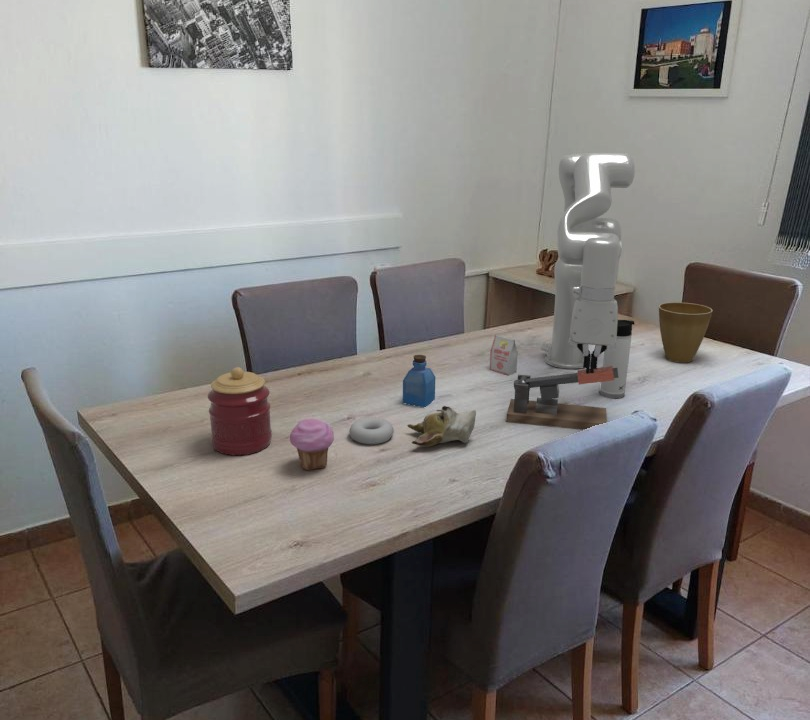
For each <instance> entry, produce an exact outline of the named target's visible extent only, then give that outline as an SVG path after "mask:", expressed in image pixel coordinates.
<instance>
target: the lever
mask: <svg viewBox="0 0 810 720" xmlns="http://www.w3.org/2000/svg"><path fill="white" fill-rule="evenodd" d="M614 378H619V377H618V369H617V368H613V366H609V367H603V366H602V367H597V369H594V370H593V373H591V372H590V369H589V372H588V373H586V368H584V369H578V370H577V372H571V373H563V374H556V375H546V376H539V377H532V378H529V379H528V378H527V377H525V376H522V377H520V378H519V380H518V379H514V381H513V388H514V390H515V384H516V383H517V384H527V385H528V388H530V389H534V388H539V391H540V393H539V394H540V398H541V399H542V400H545V399H558V398H560V388H559V386H560V385H567V384H568V385H569V384H576V383H578V385H586V384H596V383H601V382H605V381H613V380H614Z"/></svg>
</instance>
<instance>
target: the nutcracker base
mask: <svg viewBox="0 0 810 720" xmlns="http://www.w3.org/2000/svg"><path fill="white" fill-rule="evenodd" d="M522 376H525V377H527V378H528V379H529V378H531V375H527V374H518V375H517V380H519V378H520V377H522ZM530 392H531V388H528V385H527V384H517V383H516V384H515V389H514V398H510V401H509V403H508V404H509V405H508V408H507V412H506V416H505V417H506V418H505V419H506V421H505V422H508V423H516V424H517V423H518V424H526V425H533V426H534V425H535V426H546V427H554V428H555V427H556V428H562V429H563V428H564V429H572V430H574V429H575V430H583V429H587V428H590V427H592V426H595V425H599V424H603V423H606V422H607V423H608V418H607V417H608V416H607V413H608V411H607V407H600V406H592V405H591V406H588V405H579V404H578V405H577V404H570V403H569V404H568V403H559V399H558V398H554V399H545V400H542V399H541V397H540V396H539V397H536V400H530Z"/></svg>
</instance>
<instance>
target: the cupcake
mask: <svg viewBox="0 0 810 720" xmlns="http://www.w3.org/2000/svg"><path fill="white" fill-rule="evenodd" d="M334 434H335V433H334V430H333V428H332V426H331V425H330V424H329V423H328V422H326V421H323V420H321V419H318V418H306V419H303V420H300V421H299V422H297V424H296V425H295V426H294V427H293V429H292V430H291V431H290V434H289V442H290V444H291V445H292V446H293V447H295V448H296V451H297V454H298V458H299V462H300V465H301V467H302V468H303V470H306V471H310V470H316V469H322V468H326V467H327V465H328V451H329V448H330V447H331V446H332V444H333V443H334V441H335V436H334Z"/></svg>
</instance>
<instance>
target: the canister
mask: <svg viewBox="0 0 810 720" xmlns="http://www.w3.org/2000/svg"><path fill="white" fill-rule="evenodd" d="M210 383H211V384H210V388H211V390H210V391H209V392H208V394H207V399H208V401H210V407H209V408H208V413H209V418H210V420H209V421H210V429H211V430H210V431H211V434H210V438H211V440H210V441H211V443H212V447H213V449H214V448H215V449H216V450H215V449H214V450H215V451H217V452H218V451H219V453H220V452H221V453H220V454H223V453H225V455H228V454H229V455H231V456H242V455H243V456H245V455H250V454H254V453H257V452H260V450H261V451H263V450H265V449H266V448H267V447H268V446H270V444H271V441H272V437H273V433H272V428H271V427H272V425H271V412H270V411H271V403H270V402H269V401H268V397H269V395H270V392H271V391H270V389H269V388H268V387H267V386H265V383H266V381H265V379H264V378H263V377H262V376H260V375H257V374H256V373H255V372H252V371H251V372H250V371H244V369H242V368H241V367H239V366H237V367H234V368H232V369H231V371H230V372H226V373H223V374H221V375H219V376H218V377H217V378H215V379H214V380H213V381H212V382H210ZM264 448H265V449H264Z"/></svg>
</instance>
